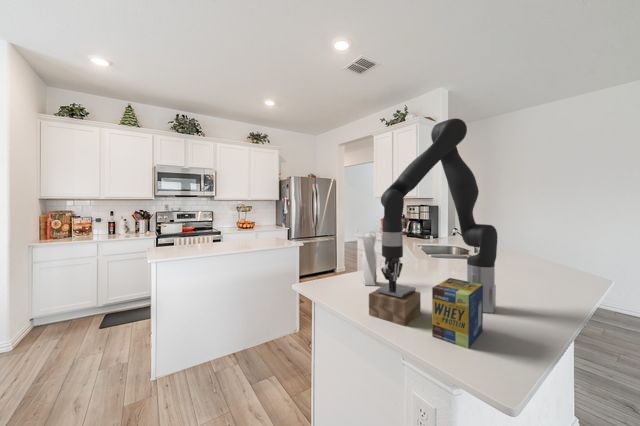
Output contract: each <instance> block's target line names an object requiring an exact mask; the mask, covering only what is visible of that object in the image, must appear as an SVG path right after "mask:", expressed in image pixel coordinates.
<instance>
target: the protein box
mask: <svg viewBox="0 0 640 426" xmlns="http://www.w3.org/2000/svg"><path fill="white" fill-rule="evenodd" d="M431 293H432V295H431V296H432V297H431V299H432V300H431V302H432V303H431V313H432V314H431V315H432V317H431V320H432V322H431V323H432V324H431V325H432V326H431V327H432V329H431V332H432V333H431V334H432V337H433V338H436V339H439V340H442V341H445V342H449V343H452V344H454V345H456V346H460V347H462V348H466V349H469V348H470V347H471V346H472V344H473V343H474V342H475V341H476V340H477V338H478V337H479V336H480V334H482V333H483V327H484V326H483V323H484V321H483V319H484V314H483V313H484V312H483V284H478V283H473V282H468V281H467V280H462V279H456V278H452V277H449V278H447V279H446V280H444V281H442V282H440V283H438V284H436V285H434V286H433V287H432V289H431Z"/></svg>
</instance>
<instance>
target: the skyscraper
mask: <svg viewBox="0 0 640 426" xmlns="http://www.w3.org/2000/svg"><path fill="white" fill-rule="evenodd" d="M372 233H373V234H374V235H373V234H372ZM361 239H362V242H363V243H362V244H363V254H362V269H363V271H362V272H363V277H364V280H363V284H364V286H365V287H379V286H380V284H379V283H378V280H377V278H378V277H377V276H378V275H377V256H376V251H375V250H376V249H375V246H376V241H377V234H376V232H374V231H369V233H362V235H361Z"/></svg>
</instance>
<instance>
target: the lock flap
mask: <svg viewBox="0 0 640 426" xmlns="http://www.w3.org/2000/svg"><path fill="white" fill-rule="evenodd" d="M416 289H417V288H416V287H413V286H408V285H404V284H403V285H402V284H398V283H396V290H395V291H391V290H389V283H388V284H386V285H384V286H381V287H379V288H377V289H376V290H377V292H379V293H383V294H388V295H392V296H396V297H400V298H403V297H405V296H406V295H408V294H410V293H412V292H414V291H416ZM416 292H417V291H416Z"/></svg>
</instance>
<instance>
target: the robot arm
mask: <svg viewBox="0 0 640 426" xmlns="http://www.w3.org/2000/svg"><path fill="white" fill-rule="evenodd" d="M467 132H468V127H467V124H466V122H465V121H464V120H463V119H461V118H450V119H446V120H444V121H441V122H438V123H437V124H434V126H433V128H432V129H431V134H430V136H431V142H432V144H430V146H428V147H427V149H426V150H424V151H423V152H422V153H421V154H419V156H417V157H416V158H415V159H413V160H412V161H411V163H409V164H408V165H407V166H406V168H404V170H403V171H402V172H401V173H400V174H399V176H398V178H397V179H396V180H394V182H393V183H392V184H390V186H389V187H388V188H387V189H386V190H385V191H384V192H383V193H382V194H381V197H380V203H381V205H382V207H383V209H384V210H383V218H382V221H381V222H382V229H381V230H382V234H381V256H382V257H383V258H385V261H384V267H381V268H380V269H381V273H382V275H383V276H384V279H385V281H386V280H387V281H388V284H389V290H391V291H395V290H396V284H397V280H398V279H399V278H400V276H401V272H402V269H403V266H404V264H403V263H402V262H401V260H400V259H402V258H403V257H404V246H403V245H404V241H403V240H404V237H403V220H402V219H403V213H404V205H405V200H404V199H405V197H406V196H407V195H408V194H409V192H412V191H413V190H414V189H415V188H416V187H417V186H418V184H419V183H421V181H422V180H423V179H424V178H425V176H427V174H428V173H429V172H430V171H431V170H432V169H433V168H434V167H435V166H436V165H437V164H438V163H439V162H440V163H441V165H442V169H443V171H444V174H445V178H446V181H447V185H448V189H449V191H450V195H451V197H452V201H453V204H454V207H455V210H456V214H457V218H458V223H459V229H460V234H461V237H462V241H463V243H464V244H465V245H466V246H469V247H473V248H478V253H476V254H474V255H469V256H467V258H466V269H467V270H466V281H468V282H473V283H478V284H483V313H488V314H493V313H495V310H496V309H497V305H496V302H497V300H496V296H497V294H496V292H497V291H496V290H497V289H496V288H497V285H496V283H495V276H496V275H495V271H496V270H495V268H496V267H495V265H496V260H497V249H498V231H497V229H496V227H495V226H494V225H492V224H483V223H476V221H475V217H474V208H475V205H476V203H477V200H478V197H479V186H478V184H477V180H476V176H475V174H474V172H473V171H472V169H471V168H470V167H469V166H468V165H467V163H466V162H465V161H464V159H463V158H462V157H461V155H460V153H459V151H458V150H459V149H458V147H457V146H458V145H459V144H461V142H462V141H463V140H464V139H465V137H466V136H467Z"/></svg>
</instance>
